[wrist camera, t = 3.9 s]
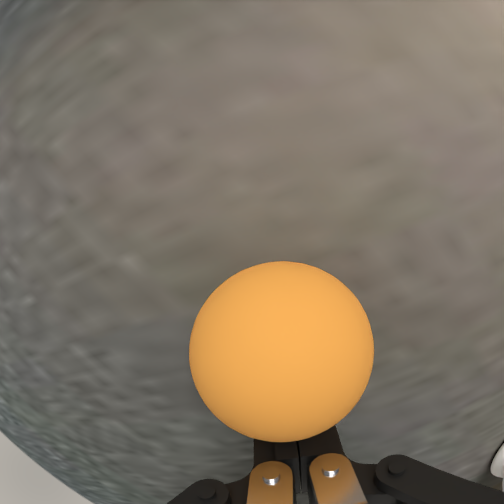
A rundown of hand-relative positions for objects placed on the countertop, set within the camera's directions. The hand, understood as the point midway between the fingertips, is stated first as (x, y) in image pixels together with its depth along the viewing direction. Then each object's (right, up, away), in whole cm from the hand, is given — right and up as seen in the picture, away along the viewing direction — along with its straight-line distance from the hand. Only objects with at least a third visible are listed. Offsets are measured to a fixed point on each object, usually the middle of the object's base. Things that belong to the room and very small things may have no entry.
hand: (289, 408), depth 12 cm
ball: (-1, +3, -3) cm, 4 cm away
